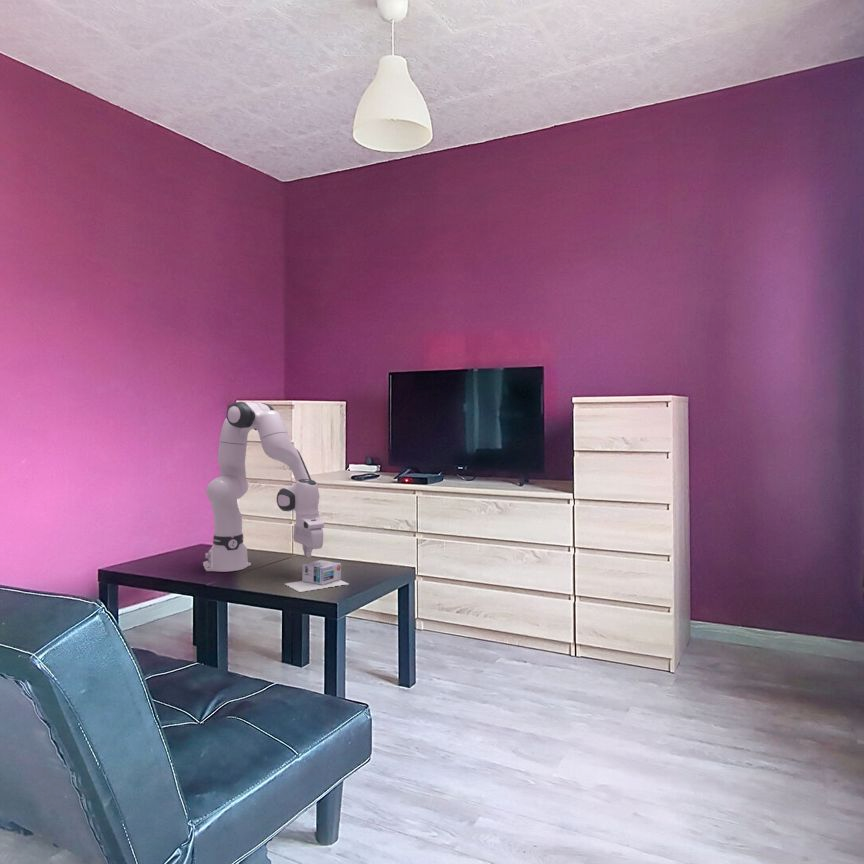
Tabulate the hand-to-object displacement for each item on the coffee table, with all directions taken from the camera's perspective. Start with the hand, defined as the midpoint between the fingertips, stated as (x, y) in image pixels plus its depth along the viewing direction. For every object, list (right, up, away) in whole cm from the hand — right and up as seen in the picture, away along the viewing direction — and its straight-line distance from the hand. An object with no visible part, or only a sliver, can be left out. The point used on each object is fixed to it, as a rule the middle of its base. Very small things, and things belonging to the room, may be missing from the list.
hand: (307, 556), depth 257 cm
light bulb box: (+1, -5, +1) cm, 5 cm away
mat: (+5, -9, -7) cm, 12 cm away
